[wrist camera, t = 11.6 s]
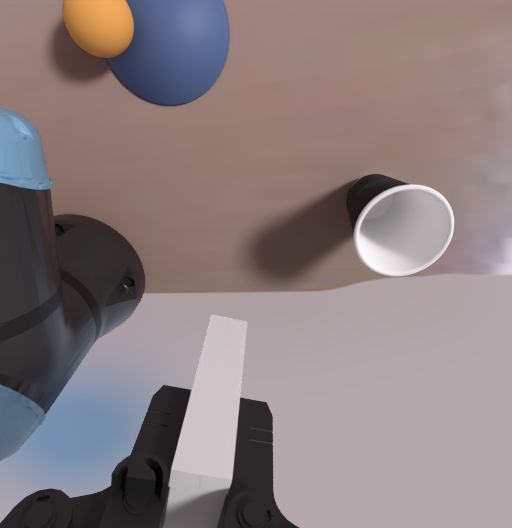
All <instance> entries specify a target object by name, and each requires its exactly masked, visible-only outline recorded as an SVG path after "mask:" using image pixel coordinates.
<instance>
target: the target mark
mask: <svg viewBox="0 0 512 528" xmlns="http://www.w3.org/2000/svg"><path fill="white" fill-rule="evenodd" d="M126 2H127V4H128V6H129V8H130V10H131V13H132V17H133V22H134V32H133V37H132V40H131V43H130V44H129V46H128V48H127V49H126V50H125V51H124V52H122V53H121V54H120V55H117V56H115V57H111V58H106V59H107V61H108V63H109V65H110V66H111V68H112V70H113V71H114V73H115V74H116V75H117V77H118V78H119V79H120V80H121V81H122V82H123V83H124V84H125V86H126V87H128V88H129V89H130V90H131V91H133V92H134V93H135V94H137V95H138V96H140V97H142V98H144V99H146V100H148V101H151V102H154V103H157V104H163V105H178V104H183V103H187V102H190V101H192V100H195V99H197V98H198V97H200V96H201V95H203V94H204V93H205V92H206V91H207V90H209V89H210V87H211V86H212V85H213V84H214V83H215V81H216V80H217V78H218V77H219V75H220V73H221V71H222V69H223V67H224V64H225V61H226V58H227V53H228V47H229V24H228V18H227V13H226V9H225V6H224V3H223V0H126Z"/></svg>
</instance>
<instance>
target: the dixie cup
mask: <svg viewBox="0 0 512 528" xmlns="http://www.w3.org/2000/svg"><path fill="white" fill-rule="evenodd" d="M346 205H347V210H348V213H349V217H350V221H351V224H352V228H353V232H354V238H353V240H354V247H355V250H356V253H357V255H358V257H359V258H360V260H361V261H362V262H363V263H364V264H365V265H366V266H367V267H368V268H370V269H371V270H373V271H375V272H377V273H379V274H383V275H387V276H405V275H410V274H413V273H416V272H419V271H421V270H423V269H425V268H427V267H428V266H430V265H431V264H432V263H434V262H435V261H436V260H437V259H438V258H439V257H440V256H441V255H442V254H443V252H444V251H445V250H446V248H447V246H448V245H449V243H450V241H451V238H452V235H453V230H454V217H453V212H452V209H451V207H450V205H449V203H448V202H447V200H446V199H445V198H444V197H443V196H442V195H441V194H440V193H438V192H437V191H435V190H434V189H431V188H429V187H426V186H422V185H410V184H407V183H404V182H401V181H399V180H396V179H393V178H390V177H387V176H384V175H380V174H371V175H367V176H364V177H362V178H360V179H358V180H357V181H356V182H355V183H354V184H353V185H352V186H351V188H350V190H349V192H348V195H347V200H346Z"/></svg>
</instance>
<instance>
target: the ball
mask: <svg viewBox="0 0 512 528" xmlns="http://www.w3.org/2000/svg"><path fill="white" fill-rule="evenodd" d="M62 13H63V19H64V23H65V26H66V28H67V30H68V32H69V34H70V36H71V37H72V39H73V40H74V41H75V42H76V43H77V44H78V45H79V46H80V47H81V48H82V49H83V50H85V51H86V52H88V53H90V54H92V55H94V56H97V57H102V58H111V57H115V56H117V55H120V54H121V53H122V52H124V51H125V50H126V49H127V48H128V46H129V44H130V43H131V40H132V37H133V32H134V22H133V17H132V13H131V10H130V8H129V6H128V4H127V2H126V0H63V5H62Z"/></svg>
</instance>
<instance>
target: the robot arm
mask: <svg viewBox="0 0 512 528" xmlns="http://www.w3.org/2000/svg"><path fill="white" fill-rule="evenodd" d="M50 189H52V180H51V179H50V178H49V177H48V172H47V167H46V162H45V157H44V151H43V146H42V141H41V138H40V135H39V133H38V131H37V129H36V127H35V126H34V125H33V124H32V123H31V122H30V121H29V120H28V119H27V118H25V117H24V116H23V115H21V114H19V113H18V112H16V111H13V110H11V109H8V108H6V107H2V106H0V461H1V460H3V459H5V458H7V457H10V456H11V455H13V454H14V453H15V452H16V451H17V450H19V448H20V447H21V446H22V445H23V444H24V443H25V441H26V440H27V439H28V438H29V437H30V436H31V434H32V433H33V432H34V431H35V430H36V429H37V427H38V426H40V425H41V424H42V422H43V421H44V419H45V417H46V416H45V415H46V413H47V411H48V410H49V409H50V407H51V406H52V404H53V403H54V401H55V400H56V398H57V397H58V396H59V394H60V392H61V391H62V390H63V388H64V387H65V385H66V384H67V382H68V381H69V379H70V378H71V376H72V375H73V374H74V372H75V371H76V369H77V368H78V366H79V365H80V363H81V362H82V360H83V359H84V357H85V356H86V354H87V353H88V352H89V350H90V349H91V347H92V345H93V344H94V342H95V341H96V340H97V339H99V338H100V337H102V336H104V335H105V334H107V333H108V332H110V331H111V330H113V329H115V328H116V327H118V326H119V325H121V324H122V323H123V322H125V321H126V320H127V319H128V318H129V317H130V316H131V315H132V313H133V312H134V310H135V309H136V307H137V305H138V304H139V302H140V300H141V298H142V295H143V293H144V287H145V275H144V270H143V266H142V263H141V261H140V259H139V257H138V255H137V253H136V251H135V250H134V248H133V247H132V246H131V245H130V243H129V242H128V241H127V240H126V239H125V238H124V237H123V236H122V235H121V234H120V233H118V232H117V231H116V230H114V229H113V228H111V227H110V226H108V225H106V224H104V223H102V222H100V221H98V220H96V219H93V218H90V217H86V216H81V215H73V214H64V215H57V216H53V209H52V201H51V191H50ZM246 330H247V321H242V320H237V319H232V318H227V317H222V316H216V315H211V318H210V322H209V325H208V329H207V333H206V337H205V341H204V345H203V349H202V352H201V356H200V360H199V364H198V368H197V372H196V376H195V380H194V383H193V387H192V390H189V389H183V388H177V387H172V386H166V385H163V386H162V387H161V388H160V389H159V391H157V392H156V394H154V395H153V398H152V400H151V403H150V406H149V408H148V411H147V413H146V416H145V419H144V421H143V424H142V426H141V429H140V432H139V435H138V437H137V440H136V442H135V445H134V447H133V450H132V453H131V455H130V456H128V457H126V458H125V459H124V460H123V461H122V462H120V463H119V464H118V465H117V466H116V468H115V470H114V471H113V473H112V482H111V484H112V485H111V486H110V487H108V488H107V489H105V490H103V491H101V492H97V493H94V494H90V495H84V496H79V497H74V498H69V496H67V495H66V494H65V493H64V492H63V491H61V490H56V489H46V490H40V491H37V492H35V493H33V494H31V495H29V496H27V497H25V498H24V499H23V500H22V501H21V502H20V503H18V504H17V505H16V506H15V507H14V508H13V509H12V511H11V512H10V513H9V514H8V515H7V516H6V517H5V519H4V520H3V521H2V522H1V523H0V528H299V527H297V526H295V525H294V524H292V523H291V522H290V521H288V520H287V519H286V518H285V517H284V516H283V515H282V513H281V512H280V510H279V509H278V507H277V505H276V502H275V499H274V493H273V445H272V443H273V433H272V431H273V426H272V425H273V424H272V422H273V417H272V414H271V412H270V409H269V407H268V405H267V403H266V402H261V401H256V400H250V399H244V398H240V393H241V382H242V373H243V362H244V352H245V341H246Z"/></svg>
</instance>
